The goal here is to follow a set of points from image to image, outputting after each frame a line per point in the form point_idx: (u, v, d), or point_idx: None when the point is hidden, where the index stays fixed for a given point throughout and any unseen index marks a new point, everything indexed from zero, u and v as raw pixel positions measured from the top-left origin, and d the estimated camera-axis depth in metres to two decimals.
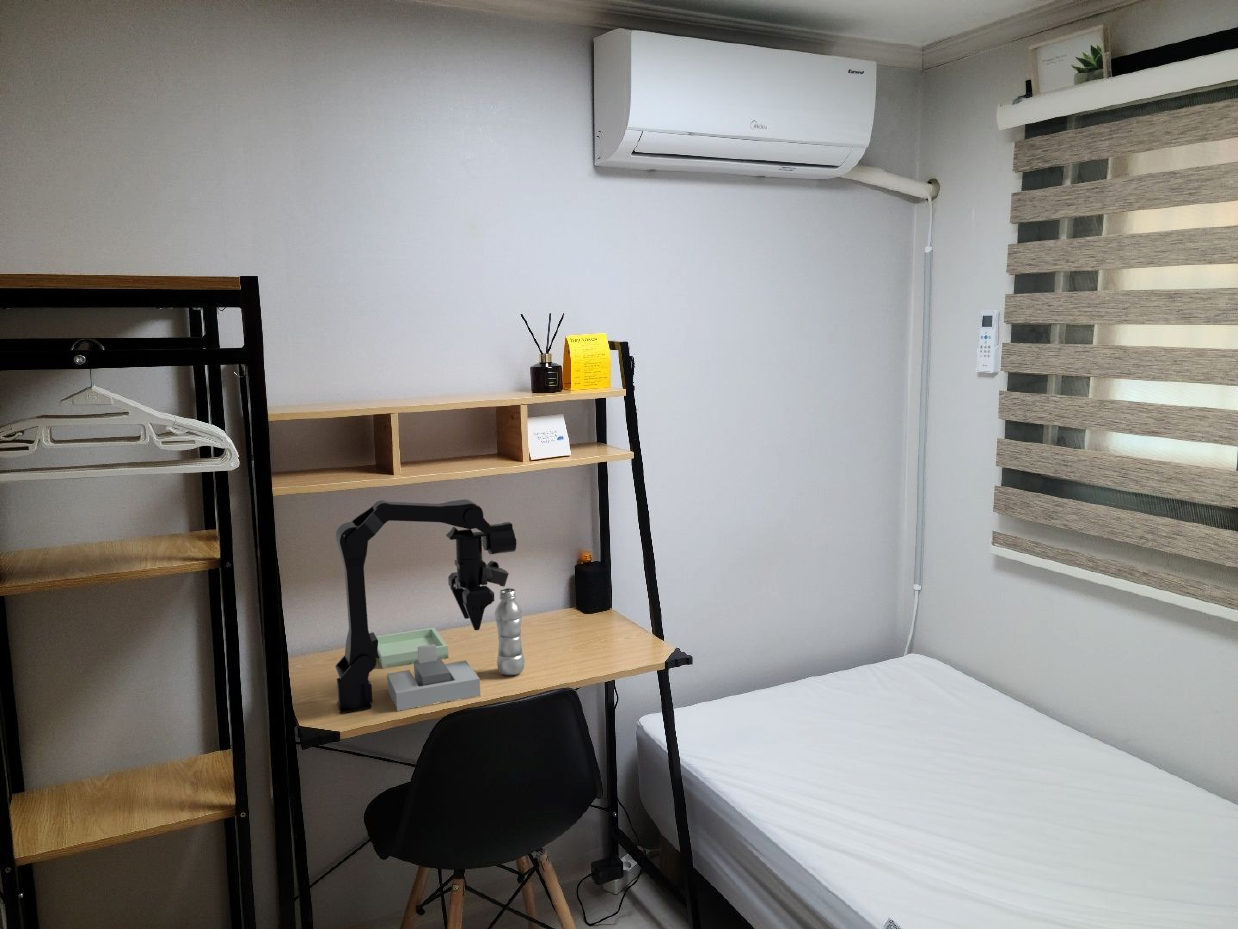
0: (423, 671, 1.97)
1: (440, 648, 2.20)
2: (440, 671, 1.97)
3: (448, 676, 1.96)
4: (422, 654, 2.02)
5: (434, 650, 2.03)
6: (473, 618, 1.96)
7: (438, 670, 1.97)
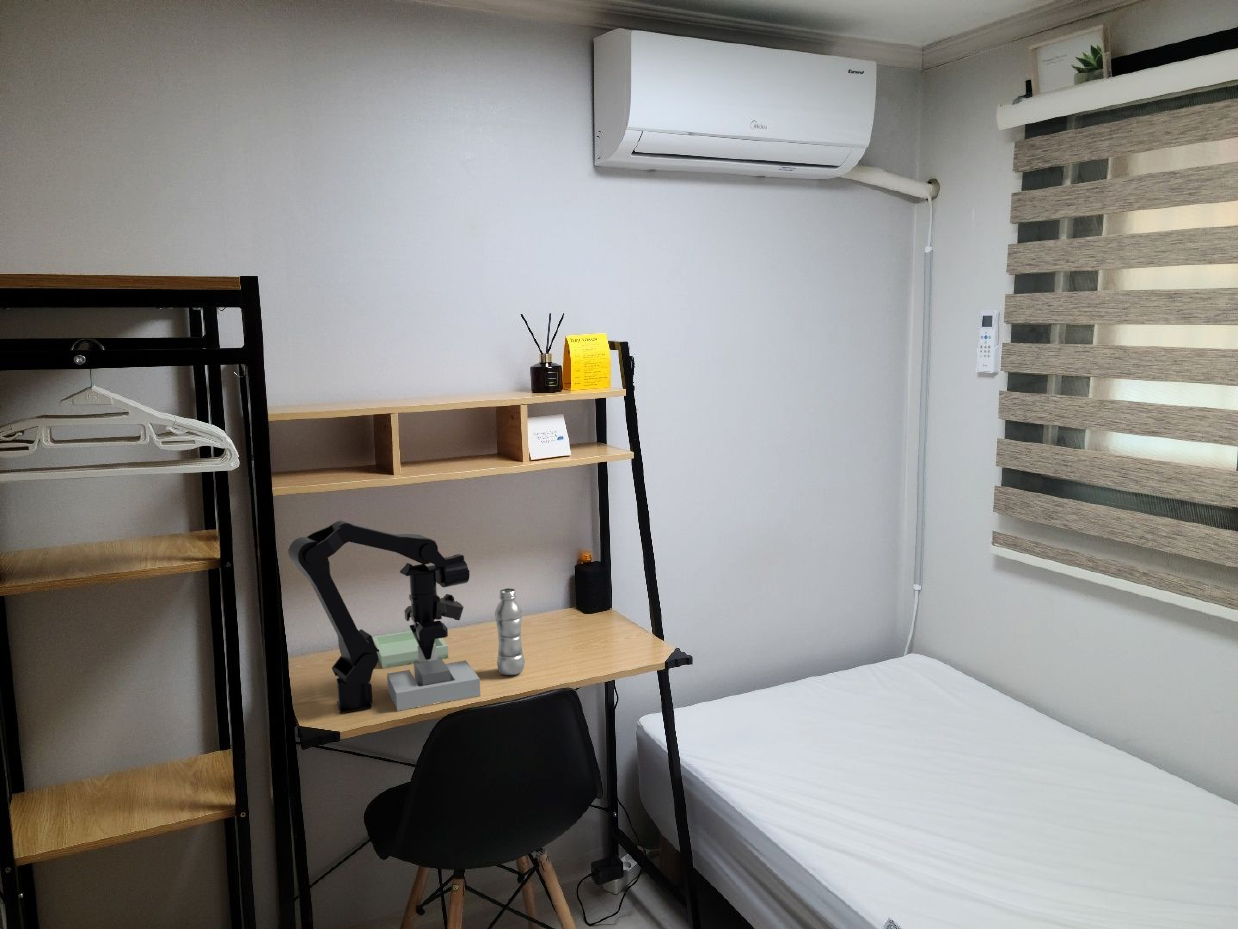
0: (423, 669, 1.97)
1: (440, 648, 2.20)
2: (440, 669, 1.96)
3: (448, 674, 1.96)
4: (422, 653, 2.02)
5: (434, 649, 2.03)
6: (424, 648, 2.00)
7: (438, 669, 1.97)
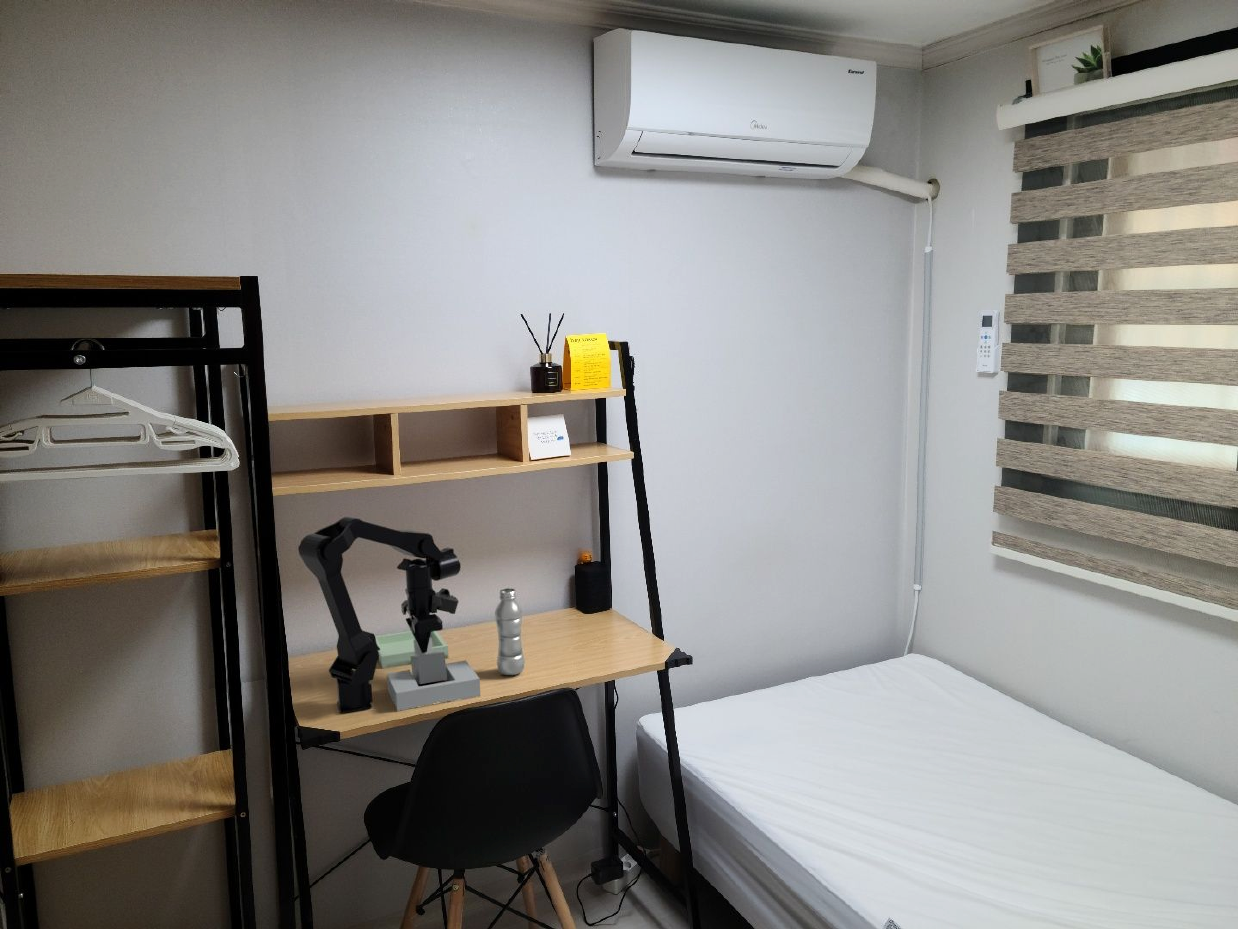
0: (419, 655, 2.01)
1: (440, 648, 2.20)
2: (434, 653, 2.01)
3: (443, 656, 2.00)
4: (418, 646, 2.06)
5: (429, 642, 2.07)
6: (420, 641, 2.05)
7: (433, 653, 2.01)
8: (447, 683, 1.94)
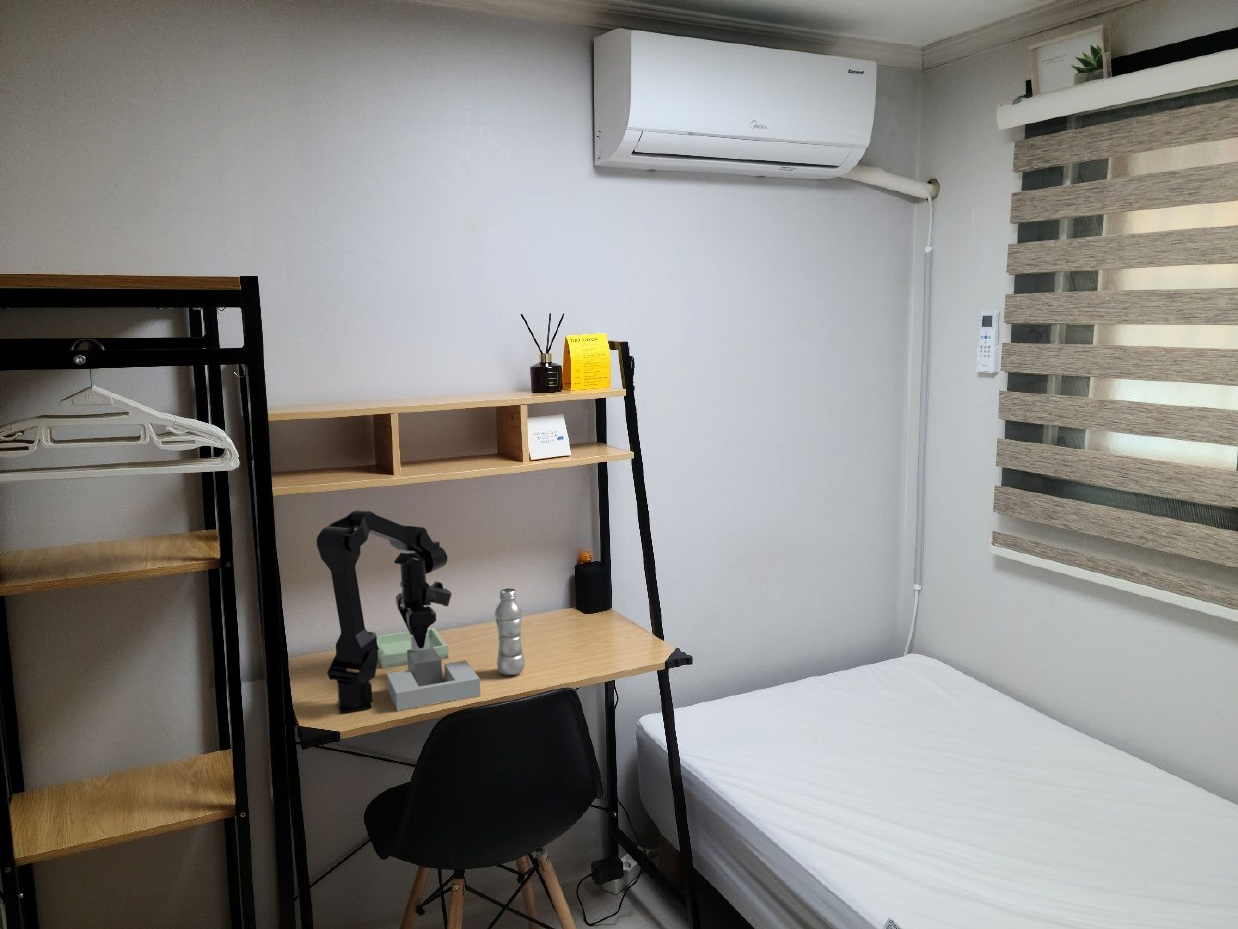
0: (416, 658, 2.05)
1: (440, 648, 2.20)
2: (431, 658, 2.05)
3: (439, 663, 2.04)
4: (415, 642, 2.10)
5: (426, 638, 2.11)
6: (417, 637, 2.08)
7: (430, 658, 2.05)
8: (447, 683, 1.94)
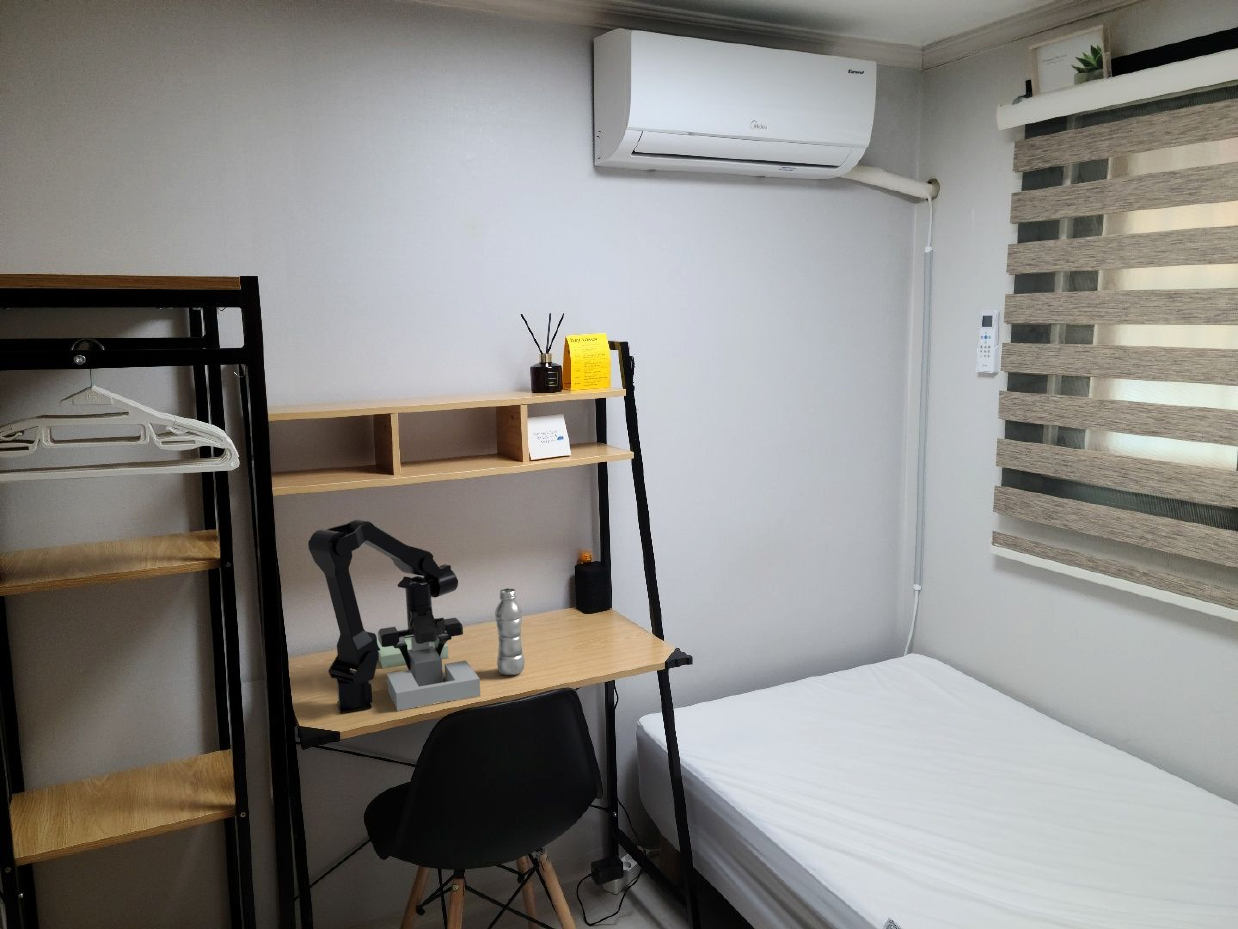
0: (416, 658, 2.05)
1: None
2: (432, 658, 2.04)
3: (440, 663, 2.03)
4: (415, 642, 2.09)
5: None
6: (403, 656, 2.09)
7: (430, 657, 2.05)
8: (447, 683, 1.94)
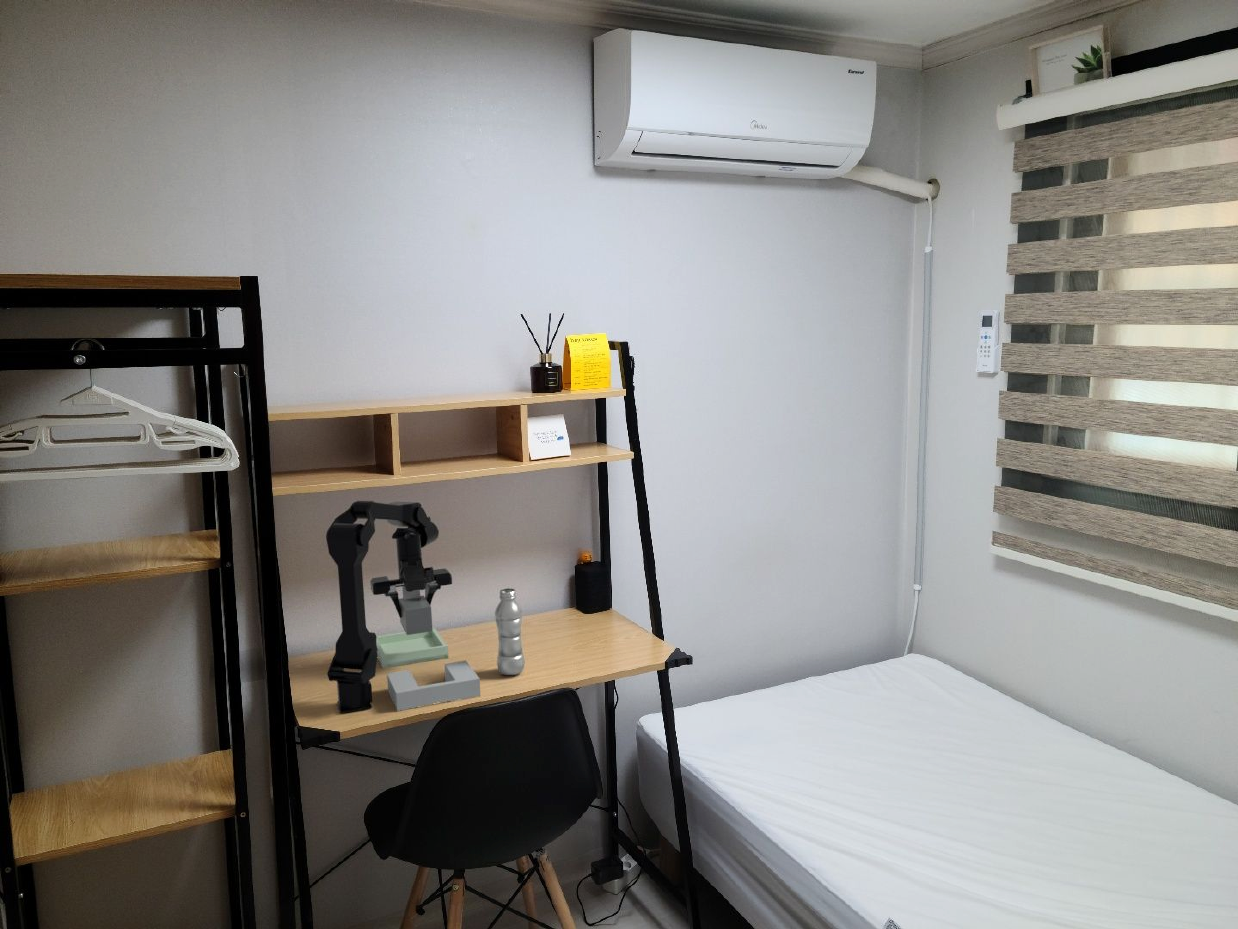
0: (407, 605, 2.13)
1: (440, 648, 2.20)
2: (422, 606, 2.13)
3: (429, 610, 2.12)
4: (406, 591, 2.18)
5: None
6: (394, 604, 2.17)
7: (420, 605, 2.13)
8: (447, 683, 1.94)
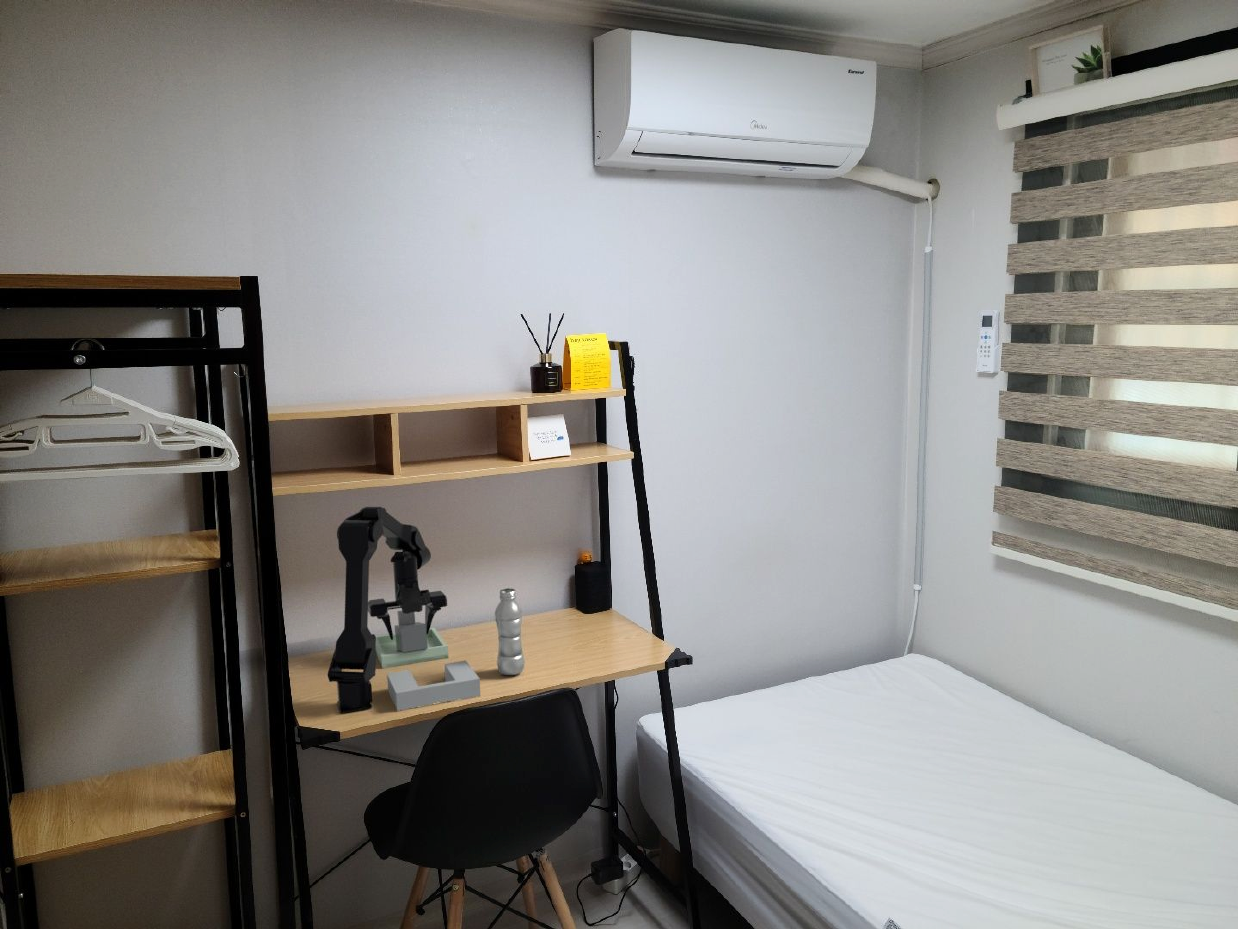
0: (402, 626, 2.20)
1: (440, 648, 2.20)
2: (416, 624, 2.20)
3: (424, 627, 2.19)
4: (401, 616, 2.25)
5: (412, 613, 2.26)
6: (386, 626, 2.22)
7: (415, 624, 2.20)
8: (447, 683, 1.94)
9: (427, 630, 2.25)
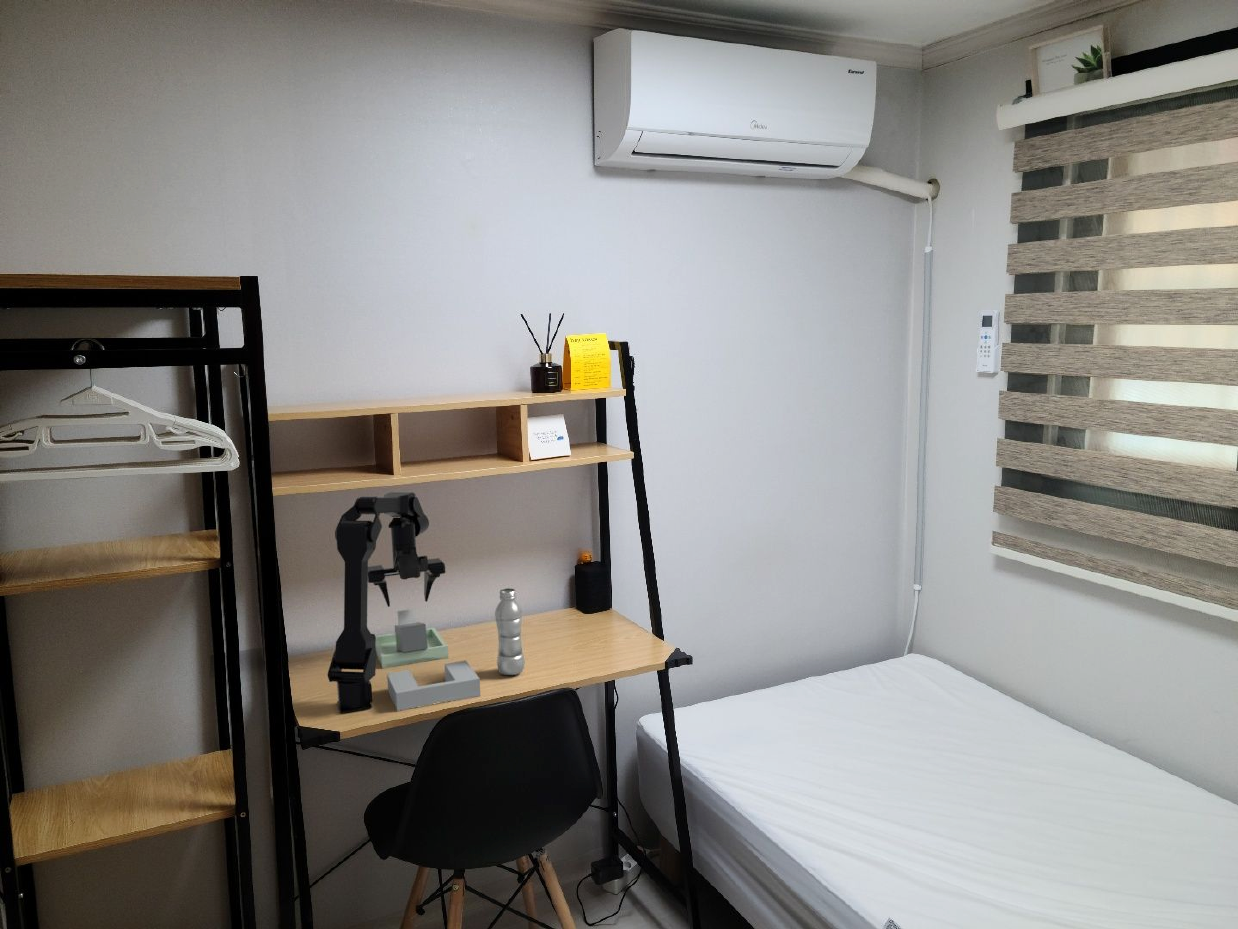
0: (402, 626, 2.20)
1: (440, 648, 2.20)
2: (416, 624, 2.20)
3: (424, 627, 2.19)
4: (401, 616, 2.25)
5: (412, 613, 2.26)
6: None
7: (415, 624, 2.20)
8: (447, 683, 1.94)
9: (427, 597, 2.24)
